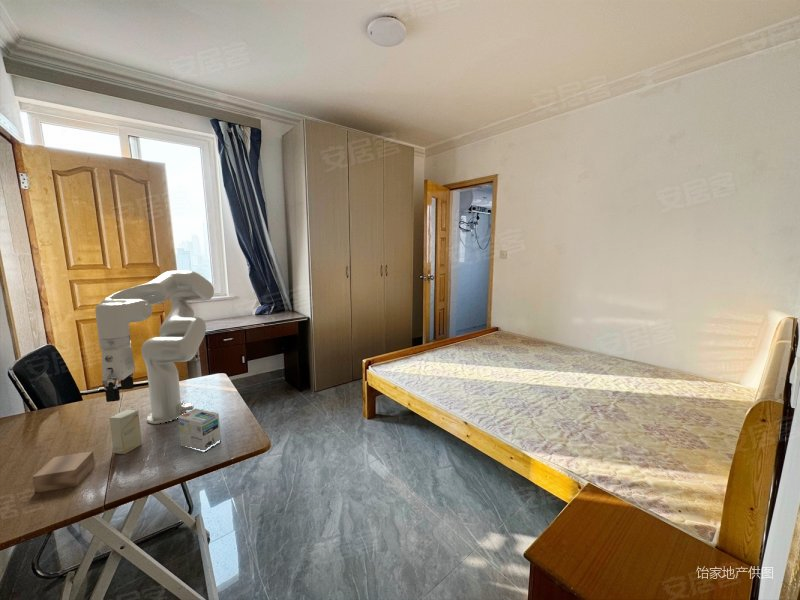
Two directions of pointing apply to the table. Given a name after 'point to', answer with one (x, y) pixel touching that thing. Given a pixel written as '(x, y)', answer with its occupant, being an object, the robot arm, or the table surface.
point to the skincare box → (125, 431)
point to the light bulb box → (199, 429)
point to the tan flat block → (63, 471)
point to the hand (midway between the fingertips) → (120, 394)
